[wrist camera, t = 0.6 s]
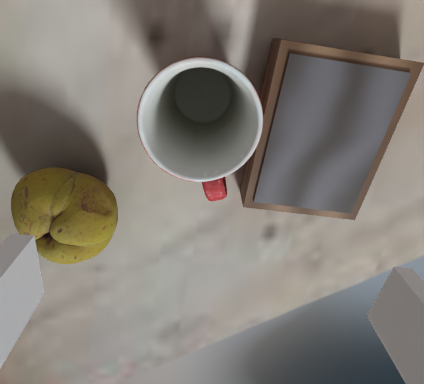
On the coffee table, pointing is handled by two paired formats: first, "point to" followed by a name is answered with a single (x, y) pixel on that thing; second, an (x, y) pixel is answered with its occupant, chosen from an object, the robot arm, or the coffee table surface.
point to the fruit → (65, 213)
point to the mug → (200, 121)
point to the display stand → (324, 127)
